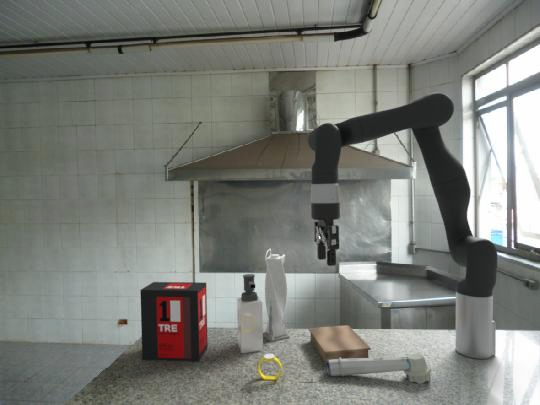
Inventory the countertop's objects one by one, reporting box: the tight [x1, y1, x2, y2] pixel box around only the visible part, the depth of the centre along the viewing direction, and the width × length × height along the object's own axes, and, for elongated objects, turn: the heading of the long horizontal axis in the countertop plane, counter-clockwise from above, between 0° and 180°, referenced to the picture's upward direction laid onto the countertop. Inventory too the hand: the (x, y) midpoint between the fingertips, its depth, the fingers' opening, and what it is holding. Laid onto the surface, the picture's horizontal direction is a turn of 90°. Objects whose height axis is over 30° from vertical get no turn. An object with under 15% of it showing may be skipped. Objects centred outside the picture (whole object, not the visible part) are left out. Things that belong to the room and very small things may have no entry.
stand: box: [308, 324, 372, 366], centre depth 107 cm, size 13×17×4 cm
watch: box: [257, 353, 283, 381], centre depth 92 cm, size 6×3×6 cm, turn 84°
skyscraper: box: [263, 248, 291, 343], centre depth 119 cm, size 8×8×28 cm
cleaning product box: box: [139, 281, 209, 363], centre depth 106 cm, size 16×9×20 cm, turn 84°
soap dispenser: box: [236, 273, 264, 354], centre depth 109 cm, size 6×9×22 cm
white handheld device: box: [326, 353, 432, 385], centre depth 92 cm, size 5×7×25 cm
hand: (326, 262), depth 96 cm, fingers open, 8 cm apart
